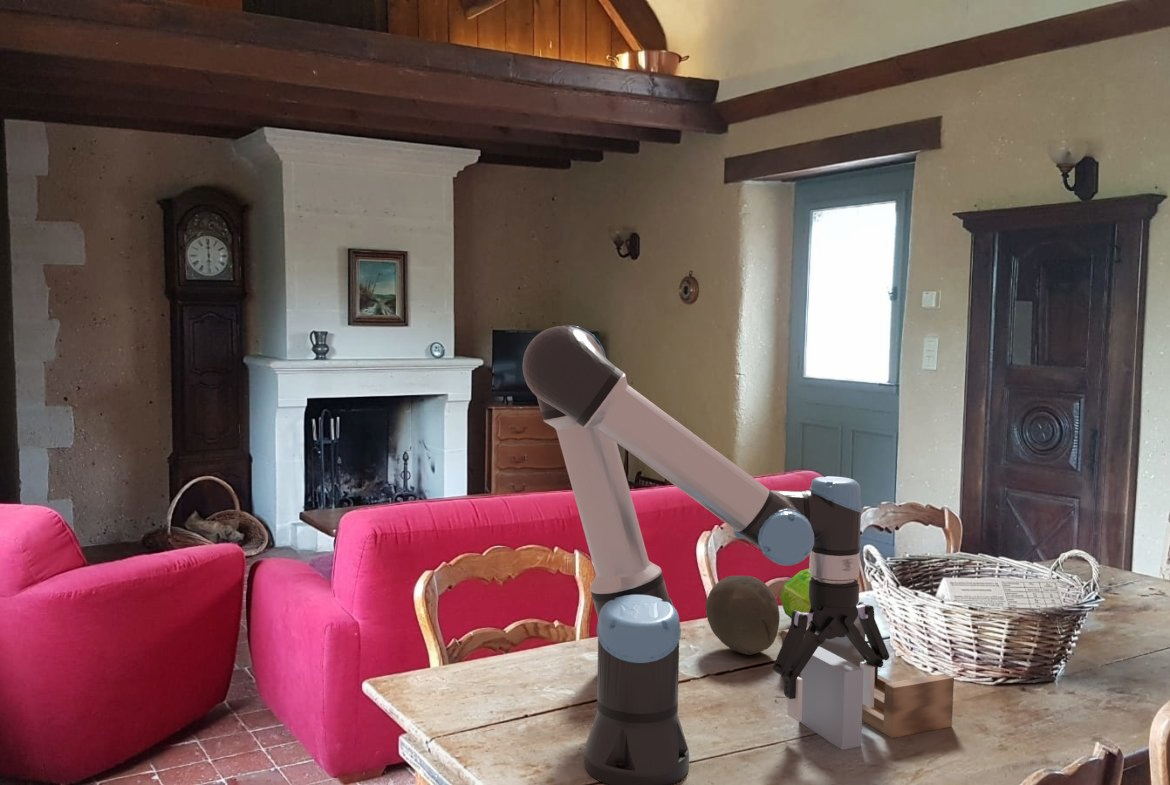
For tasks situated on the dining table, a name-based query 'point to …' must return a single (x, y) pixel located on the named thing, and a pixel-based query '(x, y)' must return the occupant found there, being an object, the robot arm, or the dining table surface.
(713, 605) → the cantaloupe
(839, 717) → the gray angular faceted block
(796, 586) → the lettuce
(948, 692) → the wooden slotted stand
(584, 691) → the dining table surface
